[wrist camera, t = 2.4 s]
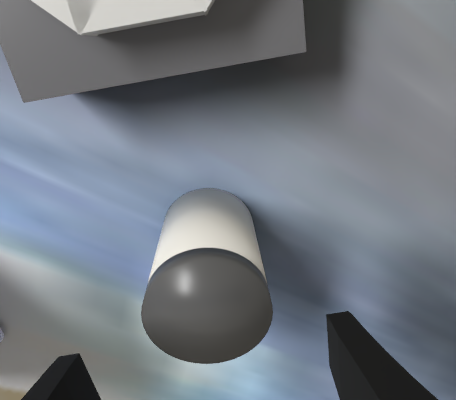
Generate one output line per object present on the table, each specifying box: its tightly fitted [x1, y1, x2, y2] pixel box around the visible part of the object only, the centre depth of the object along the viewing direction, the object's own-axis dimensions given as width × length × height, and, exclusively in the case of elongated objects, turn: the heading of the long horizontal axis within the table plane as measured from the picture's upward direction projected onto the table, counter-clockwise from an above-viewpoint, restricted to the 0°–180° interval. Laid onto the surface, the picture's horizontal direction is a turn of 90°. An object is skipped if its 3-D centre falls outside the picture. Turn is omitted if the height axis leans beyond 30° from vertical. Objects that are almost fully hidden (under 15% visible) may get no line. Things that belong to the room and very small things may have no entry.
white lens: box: [141, 188, 273, 364], centre depth 15 cm, size 4×4×6 cm
